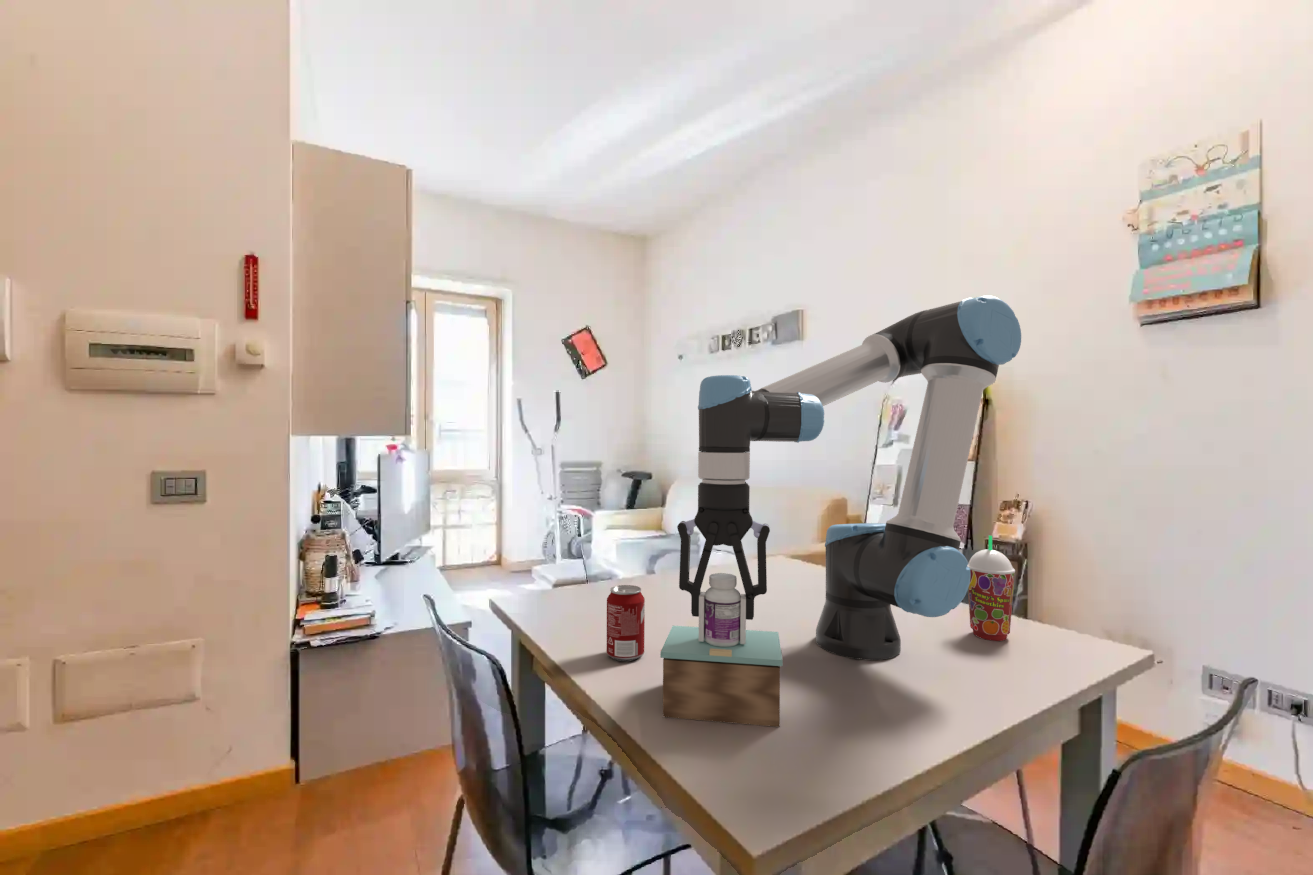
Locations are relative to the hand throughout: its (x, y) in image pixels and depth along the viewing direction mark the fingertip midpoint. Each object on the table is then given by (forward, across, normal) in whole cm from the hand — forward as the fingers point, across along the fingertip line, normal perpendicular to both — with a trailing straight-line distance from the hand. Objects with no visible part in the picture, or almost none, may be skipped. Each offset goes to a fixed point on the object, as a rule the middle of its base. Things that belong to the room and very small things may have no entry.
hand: (722, 639), depth 84 cm
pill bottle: (+1, 0, 0) cm, 1 cm away
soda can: (+10, +18, -16) cm, 26 cm away
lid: (+1, 0, 0) cm, 1 cm away
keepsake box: (+9, 0, -1) cm, 10 cm away
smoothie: (+9, -51, -39) cm, 65 cm away
